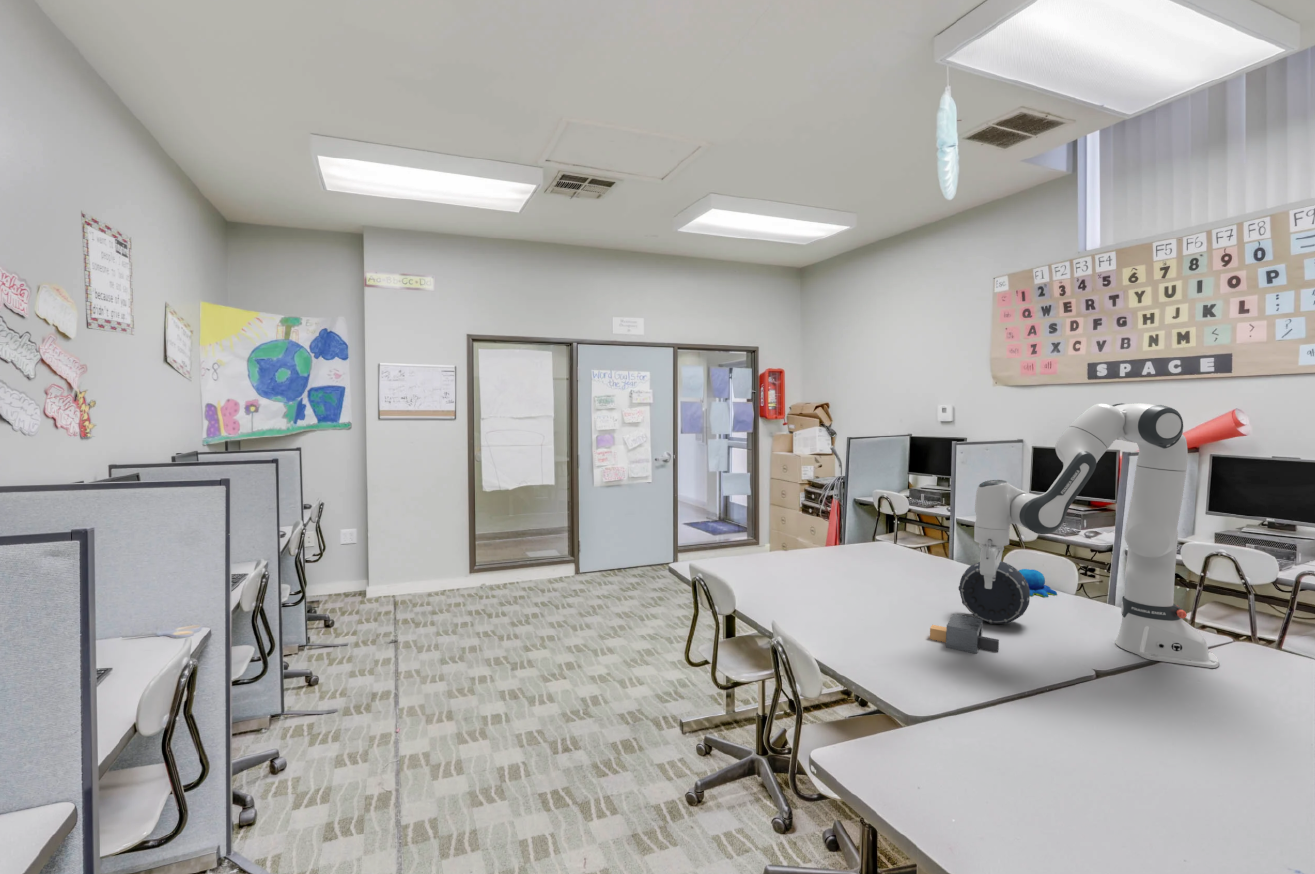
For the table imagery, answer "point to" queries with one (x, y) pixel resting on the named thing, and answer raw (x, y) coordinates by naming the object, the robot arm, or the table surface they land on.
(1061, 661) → the table surface
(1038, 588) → the plush toy
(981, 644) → the plug
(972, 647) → the slotted block
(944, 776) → the table surface
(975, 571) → the dotted bowl
